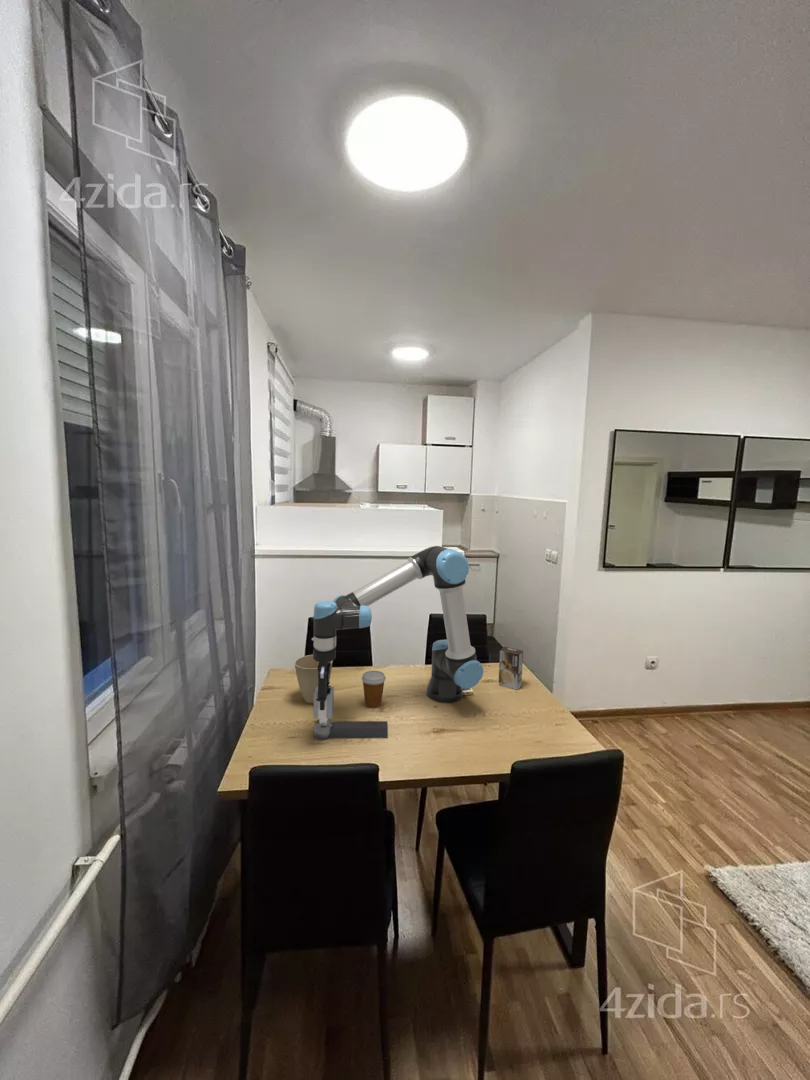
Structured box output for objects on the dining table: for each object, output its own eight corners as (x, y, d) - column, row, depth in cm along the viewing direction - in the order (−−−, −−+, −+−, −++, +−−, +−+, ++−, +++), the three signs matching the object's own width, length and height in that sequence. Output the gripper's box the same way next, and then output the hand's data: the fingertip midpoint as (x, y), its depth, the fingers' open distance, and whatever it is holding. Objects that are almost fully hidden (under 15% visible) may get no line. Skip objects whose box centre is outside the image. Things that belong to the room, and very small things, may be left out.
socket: (333, 708, 153) (334, 686, 152) (332, 717, 147) (332, 695, 146) (315, 708, 153) (316, 686, 152) (313, 717, 146) (313, 695, 146)
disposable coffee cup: (381, 711, 168) (382, 681, 167) (357, 708, 170) (358, 678, 169) (387, 699, 177) (388, 671, 176) (364, 697, 179) (365, 668, 178)
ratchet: (386, 729, 155) (387, 702, 154) (387, 739, 149) (388, 711, 148) (315, 729, 154) (315, 702, 153) (312, 740, 147) (313, 711, 146)
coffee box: (522, 685, 195) (524, 650, 194) (517, 690, 190) (520, 654, 188) (502, 680, 200) (504, 646, 198) (497, 685, 195) (499, 650, 193)
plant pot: (326, 688, 186) (327, 652, 184) (336, 704, 172) (337, 665, 171) (290, 694, 179) (291, 657, 178) (298, 711, 166) (298, 671, 164)
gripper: (317, 637, 157) (316, 699, 159) (309, 658, 138) (308, 727, 140) (338, 638, 157) (336, 699, 160) (333, 658, 138) (331, 727, 141)
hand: (323, 712), depth 150 cm, fingers closed on socket, 6 cm apart
